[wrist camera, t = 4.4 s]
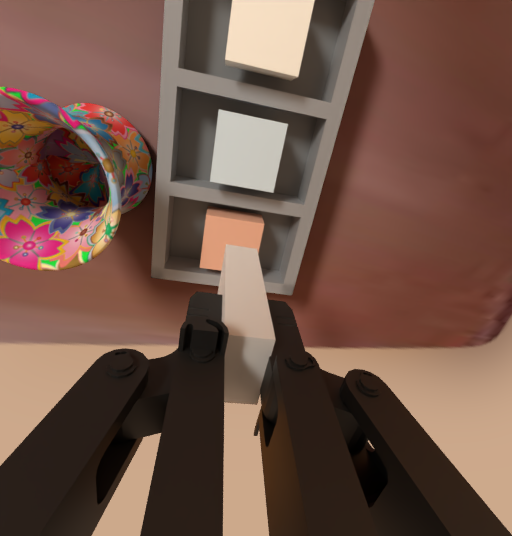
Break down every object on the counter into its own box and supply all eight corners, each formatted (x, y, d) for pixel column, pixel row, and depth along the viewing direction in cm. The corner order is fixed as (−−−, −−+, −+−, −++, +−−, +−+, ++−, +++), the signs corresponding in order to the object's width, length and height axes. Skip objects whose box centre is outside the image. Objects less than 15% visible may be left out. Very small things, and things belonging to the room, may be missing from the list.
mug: (163, 112, 24) (120, 110, 15) (156, 224, 28) (119, 281, 18) (-8, 76, 22) (-185, 47, 13) (11, 202, 26) (-114, 252, 17)
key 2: (236, -23, 18) (237, -41, 16) (308, -3, 19) (318, -17, 17) (225, 65, 20) (225, 59, 18) (291, 80, 21) (298, 76, 18)
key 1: (208, 205, 25) (206, 214, 23) (261, 214, 25) (264, 224, 23) (201, 255, 27) (199, 267, 25) (251, 262, 27) (253, 274, 25)
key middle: (219, 109, 21) (218, 109, 19) (282, 123, 22) (288, 124, 20) (211, 175, 23) (209, 181, 21) (269, 185, 24) (273, 192, 21)
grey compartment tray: (181, -53, 20) (169, -95, 16) (354, -3, 22) (382, -30, 18) (161, 255, 29) (150, 277, 25) (283, 272, 31) (291, 295, 27)
